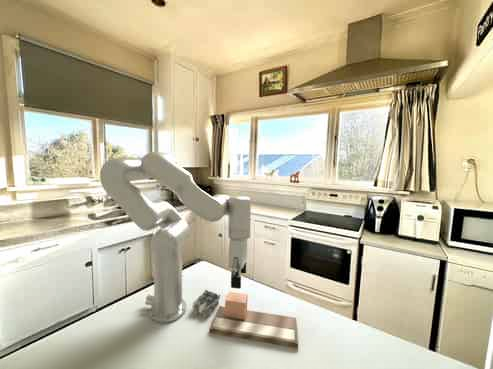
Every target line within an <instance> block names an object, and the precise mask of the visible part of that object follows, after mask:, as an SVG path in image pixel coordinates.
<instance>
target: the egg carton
mask: <svg viewBox="0 0 493 369" xmlns="http://www.w3.org/2000/svg"><path fill="white" fill-rule="evenodd" d="M220 299H221V295H220V294H217V292H213V291H209V290H207V289H205V290H204V291H203V292H202V294H200V295H199V296H198V297H197V298H196V300H194V301H193V302H192V306H191V308H192V309H193V313H194V315H195V316H198V315H202V317H203V318H207V317H211V315H212V311H214V310H215V309H216V306H217V305H219V304H220ZM203 304H205V306H207V307H203V308H201V305H203Z"/></svg>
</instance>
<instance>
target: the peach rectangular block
mask: <svg viewBox="0 0 493 369" xmlns="http://www.w3.org/2000/svg"><path fill="white" fill-rule="evenodd" d="M248 297H249V296H248V293H241V292H233V291H228V293H227V296H226V297H225V299H224V300H225V301H224V303H225V304H224V307H225V317H232V318H238V319H244V320H245V316H246V312H247V310H248V300H249V298H248Z"/></svg>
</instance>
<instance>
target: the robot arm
mask: <svg viewBox="0 0 493 369" xmlns="http://www.w3.org/2000/svg"><path fill="white" fill-rule="evenodd" d="M149 179H153V180H155V181H156V182H158V183H160V184H161V185H163V186H164V187H166V188H167V189H168V190H170V191H171V192H173V194H175V195H176V197H177V198H178V200H180V202H181V203H182V205H184V206H185V208H187V209H188V210H189V211H190V212H192V213H194V214H195V215H197V216H198V217H199V218H201V219H203V220H204V221H207V222H210V223H213V222H214V223H216V222H219V221H221V219H223V217H224V216H226V215H227V217H228V223H227V224H228V227H227V228H228V229H227V232H228V233H227V237H228V239H229V246H228V248H229V249H228V265H227V266H228V268H229V269H231V271H230V288H232V289H241V287H242V276H241V274H246V273H247V258H248V239H250V238H251V215H252V214H251V211H252V208H251V206H252V205H251V203H252V202H251V198H250V197H249V196H245V195H227V194H222V193H221V194H219V193H218V194H217V193H216V194H215V195H212V196H211V195H210V194H209V193H207V192H206V191H204V190H202V189H201V188H200V187H199V186H198V185H197V184H196V182H195V181H194V178H193V174H191V172H189V170H186V169H185V168H183V167H182V166H180V165H179V164H178V163H177V160H176V158H175V157H174V156H173V155H171V154H170V153H167V152H161V151H151V152H148V153H146V154H144V156H142V157H115V158H110V159H108V160H107V161H105V162H104V163H103V164H102V166H101V169H100V172H99V180H100V184H101V186H102V189H103V190H104V191H105V193H107V195H108V196H109V197H110V198H111V199H112V200H113V201H114V202H116V204H117V205H118V206H120V208H121V209H122V210H123V212H124V213H126V215H127V216H128V217H129V218H130V219H131V221H132V222H133V223H134V224H135V225H136V226H137V227H138V228H139V229H140V230H142V231H144V232H148V231H152V230H154V229H157V228H158V227H159V228H160V229H158V230H157V231H156V232H155V233H154V234H153V236H152V238H151V240H150V249H151V253H152V259H153V294H148V295H146V299H145V303H144V304H145V305H147V306H151V307H150V309H149V317H150V319H151V320H152V321H153V322H156V323H159V324H160V323H161V324H165V323H171V322H173V321H174V322H175V321H176V320H178V319H179V318H181V317H183V315H184V314H185V312H186V310H187V302H186V301H185V300H184V299H183V260H182V259H183V258H182V255H181V247H182V246H184V244H185V243H186V242H187V241H188V240H189V238H190V236H191V228H190V226H189V224H188V222H187V221H186V220H185V219H184V218H183V216H182V215H181V214H180V213H179V211H177V210H176V209H175V208H174V206H173V205H171V204H170V203H169V202H167V201H166V200H162V199H156V200H155V199H154V200H153V201H152V200H151V199H149V197H147V195H146V194H145V193H144V192H143V190H141V189H140V188H139V187H137V186H135V185H134V184H133V183H131V182H134V181H143V180H149Z"/></svg>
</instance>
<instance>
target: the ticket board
mask: <svg viewBox="0 0 493 369" xmlns="http://www.w3.org/2000/svg"><path fill="white" fill-rule="evenodd" d="M208 329H209V330H208V332H209V334H214V335H220V336H221V335H222V336H227V337H232V338H238V339H244V340H248V341H255V342H260V343H266V344H273V345H278V346H284V347H287V348H288V347H289V348H296V349H299V338H298V337H299V334H298V325H297V317H294V316H293V317H292V316H287V315H281V314H274V313H267V312H261V311H254V310H248V309H247V312H246V316H245V320H244V319H238V318H232V317H225V306H220V305H219V306H218V308H217V310H216V313H215V315H214V317H213V319H212V321H211V324H210V326H209V328H208Z"/></svg>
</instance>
